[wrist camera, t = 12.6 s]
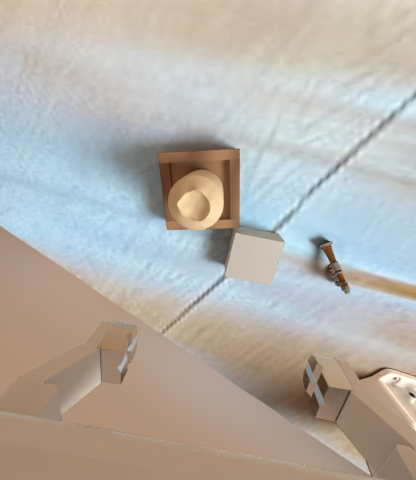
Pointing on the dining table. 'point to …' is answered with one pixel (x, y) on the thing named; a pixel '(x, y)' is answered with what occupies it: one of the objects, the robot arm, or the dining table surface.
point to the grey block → (253, 255)
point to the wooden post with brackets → (335, 267)
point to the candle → (196, 200)
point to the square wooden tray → (212, 160)
